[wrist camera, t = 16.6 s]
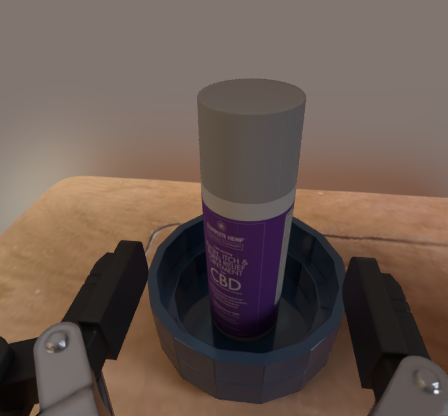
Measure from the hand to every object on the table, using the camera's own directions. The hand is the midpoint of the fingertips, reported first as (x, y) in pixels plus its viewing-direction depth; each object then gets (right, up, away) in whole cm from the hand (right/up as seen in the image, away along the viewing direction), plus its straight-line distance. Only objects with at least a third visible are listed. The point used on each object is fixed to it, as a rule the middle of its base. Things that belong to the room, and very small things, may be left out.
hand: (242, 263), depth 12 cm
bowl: (+1, -5, +10) cm, 12 cm away
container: (+1, -5, +10) cm, 11 cm away
